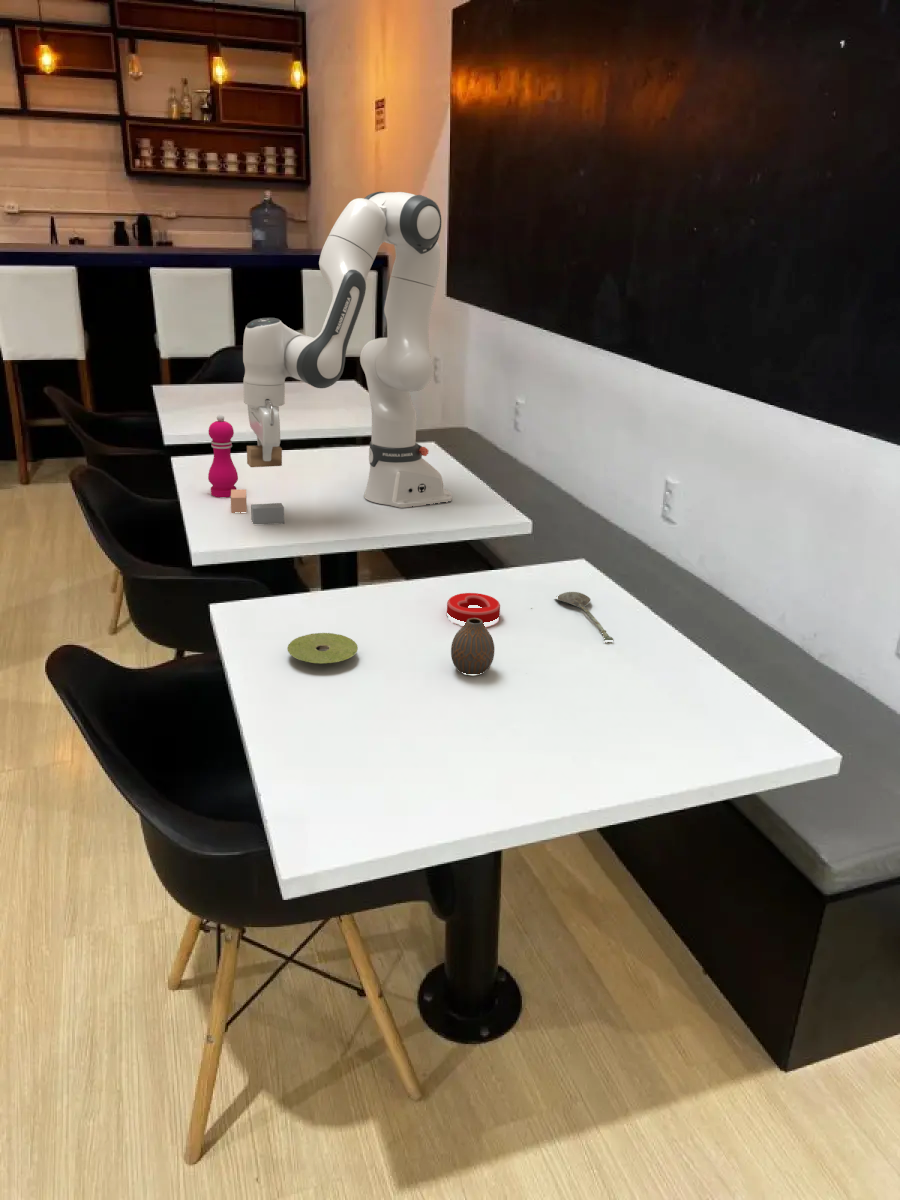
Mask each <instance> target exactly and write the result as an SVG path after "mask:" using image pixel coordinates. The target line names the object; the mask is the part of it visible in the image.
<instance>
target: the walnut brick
mask: <svg viewBox="0 0 900 1200" xmlns="http://www.w3.org/2000/svg"><path fill="white" fill-rule="evenodd" d="M262 452H263V446H262V445H260V446H258V445H246V464H247V465H248V466H249V467H250V468H263V467H265V468H267V467H281V466H282V467H283V448H282V447H281V446H280V445H279V446H278V447H273V448H272V453H271V461H264V460H263V459H262Z"/></svg>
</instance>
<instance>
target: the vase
mask: <svg viewBox="0 0 900 1200" xmlns="http://www.w3.org/2000/svg"><path fill="white" fill-rule="evenodd" d="M450 656H451V661H452V664H453V666H454V667H455V669H456V670H457V671H458V670H459V671H460V672H459V671H458V672H459V673H461V672H463V673H466V674H480V673H482V674H484V673H485V672H487V670H489V668H490V667H491V666H492V664H493V661H494V658H495V642H494V640H493V636H492V634H491V633H490V632H489V630H488V629H487V627H485V626H484V624H483V622H482V620H481V619H478V618H470V619H468V620H467V622H466V623H465V625H464V626H461V628H460V629H459V630H458V631H457V632H456V633H455V635H454V636H453V640H452V642H451V646H450ZM483 672H484V673H483Z"/></svg>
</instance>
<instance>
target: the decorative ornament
mask: <svg viewBox="0 0 900 1200" xmlns="http://www.w3.org/2000/svg"><path fill="white" fill-rule="evenodd" d="M469 605H478V606H480V607H482V608H468V606H469ZM447 613H448V614H449V615H450V616H451V617H453V618H455V619H457V620H460V621H464V622H467V620H468V619H470V618H478V619H481V620H482V622H483V623H484V622H490V621H493V620H495V619H497V618H498V617H499V618H500V616H499V615H500V614H501V604H500V602H499V601H498V600H497V599H496V598H495V597H493V596H491V595H487V594H483V593H478V592H477V593H476V592H464V593H463V592H462V593H458V594H455V595H453V596H451V597H449V598H448V600H447V603H446V614H447Z"/></svg>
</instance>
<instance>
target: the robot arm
mask: <svg viewBox="0 0 900 1200" xmlns="http://www.w3.org/2000/svg"><path fill="white" fill-rule="evenodd" d="M441 229H442V215H441V209H440V207H439V206H438V204H437V202H435V201H434V200H433V199H431V198H430V197H427V196H426V195H422V194H413V193H410V192H403V191H396V192H395V191H392V192H391V191H389V192H388V191H387V192H386V191H376V192H372V193H370V194H368V195H366V196H365V197H362V198H361V197H359V198H358V197H357V198H353V199H352V200H351V201H350V202H348V204H347V205H346V206H345V208H343V210H342V211H341V213H340V215H339V216H338V217H337V219H336V221H335V223H334V224H333V227H332V228H331V230H330V232H329V234H328V235H327V237H326V240H325V242H324V245H323V247H322V249H321V251H320V255H319V259H318V260H319V261H318V265H319V270H320V274H321V276H322V277H323V279H324V281H325V282H326V284H328V286H329V287H330V289H331V291H332V299H331V303H330V305H329V309H328V312H327V314H326V316H325V320H324V322H323V323H322V324H323V325H322V328H321V330H320V331H319V333H318V334H317V335H316V336H315V337H312V336H310V335H306V334H303V333H301V332H299V331H296V330H294V329H292V328H290V326H289V327H288V326H287V325H286V324H284V323H283V322H282V320H280V319H279V318H275V317H262V318H261V317H260V318H257V319H253V320H251V321H250V322H248V323H247V325H245V329H244V333H243V342H242V343H243V345H242V362H243V365H244V375H243V376H244V377H243V380H242V381H243V382H242V383H243V385H242V386H243V404H245V405H247V414H248V421H249V426H250V429H251V430H252V432H253V433H254V434H255V436H256V440H257V446H260V445H262V446H263V452H262V459H263V460H264V461H271V453H272V448H273V447H278V446H280V444H281V419H280V407H281V406H284V405H285V404H286V399H285V393H286V389H285V388H286V387H285V386H286V385H285V384H286V383H285V382H286V381H285V380H286V378H289V377H290V378H293V379H295V380H297V381H301V382H304V383H306V384H307V385H310V386H311V387H313V388H317V389H326V388H330V387H332V386H333V385H334V384H336V383H337V382H338V380H339V379H340V378H341V376H342V375H343V372H344V368H345V363H346V354H347V349H348V345H349V342H350V339H351V336H352V333H353V330H354V329H355V325H356V323H357V320H358V317H359V314H360V311H361V309H362V306H363V303H364V299H365V295H366V289H367V280H368V279H367V278H368V277H369V276H368V275H369V273H370V270H371V268H372V265H373V263H374V261H375V259H376V256H377V254H378V251H379V249H380V247H381V245H382V244H383V243H386V244H389V245H393V246H394V251H395V259H394V262H393V266H392V270H391V274H390V278H389V283H388V288H387V292H386V298H385V303H384V310H383V313H384V316H385V318H386V326H387V327H386V328H387V330H386V331H387V337H378V338H375V339H372V340H369V341H368V342H366V343H365V345H364V346H363V347H362V349H361V352H360V357H359V361H360V365H361V368H362V371H363V372H364V374H365V379H366V386H367V389H368V396H369V401H370V406H371V407H370V409H371V441H370V442H369V448H368V463H369V472H368V479H367V484H366V487H365V492H364V494H363V497H364V499H366V501H367V500H368V501H369V502H372V503H376V504H380V505H386V506H392V507H396V508H400V509H401V508H404V509H406V508H412V506H413V507H419V506H427V505H426V504H430V505H435V503H438V504H441V503H440V502H446V503H449V502H448V501H451V500H452V501H453V496H452V493H451V492H450V491H449V490H447V489H446V488H444V480H443V477H442V475H441V473H440V472H439V470H437V469H436V468H435V467H434V466H432V464H430V463H429V462H428V461H426V459H424V458H423V457H427V456H428V454H429V449H428V448H427V447H426V446H422V445H421V444H418V443H417V441H416V439H417V438H416V436H417V434H416V433H417V416H418V415H417V411H416V408H415V406H414V404H413V401H412V397H411V392H419V391H422V390H424V389H425V388H427V386H429V385H430V384H431V382H432V379H433V377H434V372H435V371H434V369H435V368H434V367H435V366H434V363H433V359H432V358H431V354H430V338H429V337H430V336H429V335H430V334H429V333H430V332H429V331H430V319H431V314H432V308H433V304H434V299H435V295H436V294H435V293H436V291H437V290H436V289H437V286H438V281H439V273H440V263H441V246H440V244H439V242H438V241H439V238H440V234H441ZM452 501H451V502H452ZM433 503H434V504H433Z"/></svg>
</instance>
